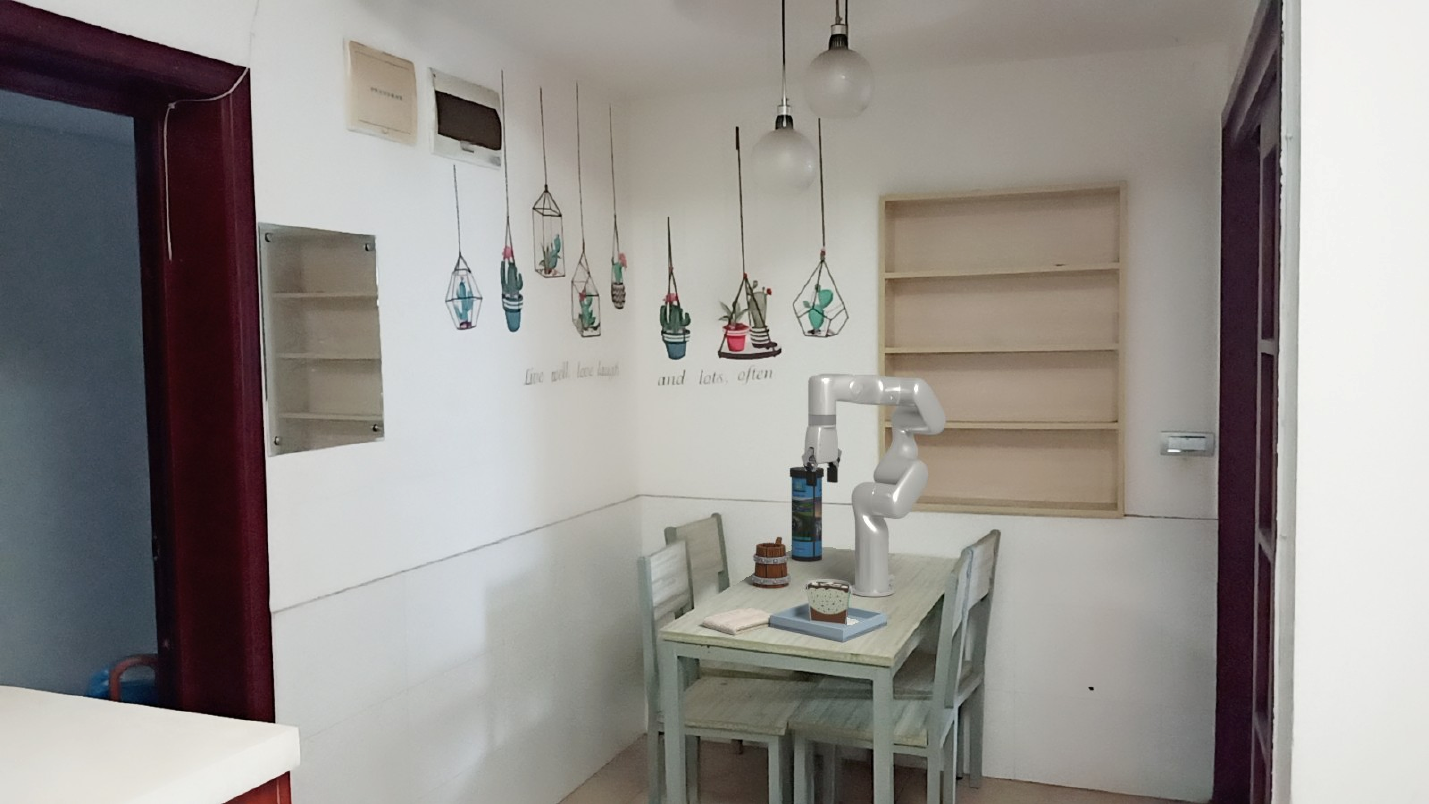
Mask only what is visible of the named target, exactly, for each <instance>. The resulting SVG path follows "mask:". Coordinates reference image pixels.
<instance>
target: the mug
mask: <svg viewBox="0 0 1429 804" xmlns="http://www.w3.org/2000/svg"><path fill="white" fill-rule="evenodd" d="M782 541H783V537H782V536H777V537H776V538H775V542H762V543H758V544H756V547H755V553H754V554H753V556H752V558H753V562H754V573H752V574H751V581H752V585H753V586H755V587H757V588H760V589H770V590H771V589H772V590H773V589H782V588H786V587H788V586H789V585H790V584H789V583H790V582H791V579H792V576H790V575H791V574H790V573H788V563H787V562H789V560H790V556H789V554H787V548H786V544H784V543H782Z"/></svg>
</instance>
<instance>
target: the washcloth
mask: <svg viewBox="0 0 1429 804" xmlns="http://www.w3.org/2000/svg"><path fill="white" fill-rule="evenodd" d="M772 614H773V613H770V612H765V611H764V610H763V609H762V610H761V609H759V608H754V607H748V608H745V609H743V608H741V609H740V608H739V609H737V608H735V609H732V610H730V611H729V610H728V611H725V612H720V613H717V614H714V615H710V616H707V617H705V618H704V619H703V620H702V622H701V624H702V626H703V627H705V628H707V629H710V630H716V631H719V632H721V633H724V634H728V635H731V636H736V635H741V634H745V633H748V632H749V633H750V632H753V631H757V630H761V629H763V628H767V627H770V615H772Z"/></svg>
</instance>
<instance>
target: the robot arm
mask: <svg viewBox="0 0 1429 804" xmlns="http://www.w3.org/2000/svg"><path fill="white" fill-rule="evenodd" d="M807 382H808V383H807V392H808V393H807V409H808V410H807V412H808V413H807V414H808V415H807V417H808V418H807V421H808V422H807V424H808V425H807V427H806V432H805V436H804V437H805V438H804V448H803V449H804V453H803V454H802V455H801V460H802V464H803V466H802V467H805V471H806V485H807V486H813V487H816V486H817V472H815V471H816V469H817V467H819V465H821V464H827V467H826V481H827V482H826V483H832V484H833V483H834V484H837V483H838V482H839V474H838V473H839V472H838V471H839V467H840V465H839V464H840V462H841V457H842V454H843V452H842V450H841V449H840V448H839V443H838V439H839V438H838V431H837V430H838V429H837V402H843V403H851V404H858V405H865V406H866V405H868V406H883V407H884V406H885V407H886V406H887V407H895V408H894V409H893V411H892V412H891V417H890V424H891V433H892V434H891V435H892V440H891V441H892V442H891V445H890V447H889V448H888V449H887V451H886V452H885V453H884V455H883V457H882V458H881V459H880V461H879V462H878V463H877V465H876V467H875V469H874V471H873V481H864V482H860V483H858V484H857V485H856V486H855V487H854V489H853V490H852V491H851V492H852V493H851V506H852V510H853V518H854V584H853V585H852V584H851V587H852V592H853V593H852V595H856V596H860V597H873V598H874V597H876V598H877V597H878V598H879V597H887V596H890V595H893V594H894V593H895V589H894V586H891V585H890V582H893V581H895V580H896V575H894V574H893V573H890V574H889V563H890V561H889V557H890V555H889V545H890V544H889V541H890V540H889V538H890V537H889V536H890V535H889V533H890V532H889V531H890V530H889V527H888V524H887V521H886V520H885V519H891V520H892V519H893V520H901V519H903V518H905V517H906V516H907V515H908V514H910V511H911V510H912V509H913V507H914V506H915V504H916V503H917V501H918V500H919V498H920V497H921V495H922V494H923V492H924V491H925V489H926V487H927V485H928V480H929V469H928V465H926V463H925V462H923V461H922V460H921V459H918V457H919V447H918V444H917V442H916V440H915V434H917V435H931V436H932V435H933V436H934V435H939V434H941V433H942V432H943V431H944V430H945V428H946V424H947V418H946V417H947V415H946V412H945V411H944V410H945V409H944V408H943V407H942V404H941V403H940V401H939V399H938V398H937V395H936V394H935V393H934V390H933V389H932V388H931V386H930V385H929V384H928V383H927V381H926V380H924V379H923V378H920V377H904V376H903V377H901V376H900V377H899V376H887V375H886V376H884V375H878V374H857V375H856V374H855V375H853V374H849V373H819V374H818V375H811V376H810V377H809V378H808V381H807ZM850 593H851V591H850Z"/></svg>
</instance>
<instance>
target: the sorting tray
mask: <svg viewBox="0 0 1429 804" xmlns="http://www.w3.org/2000/svg"><path fill="white" fill-rule="evenodd" d="M771 614H772V615H770V626H769V627H770V628H774V629H779V630H783V631H788V632H792V633H796V634H801V635H806V636H811V637H816V638H819V639H825V640H829V641H834V642H835V641H836V642H839V643H846V642H848V641H850V640H852V639H855V638H858V637H861V636H864V635H865V634H868V633H871V632H874V631H875V630H878V629H880V628H884V627H885V626H887V625H888V613H886V612H881V611H875V610H870V609H865V608H859V607H854V606H849V607H848V618H850V619H856V620H858V621H859V622H858V623H855V624H853V625H847V624H846V625H840V624H830V623H821V622H812V621H810V613H809V603H808V602H805V603H803V604H799V605H796V606H793V607H791V608H787V609H785V610H781V611H779V612H775V613H771Z"/></svg>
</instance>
